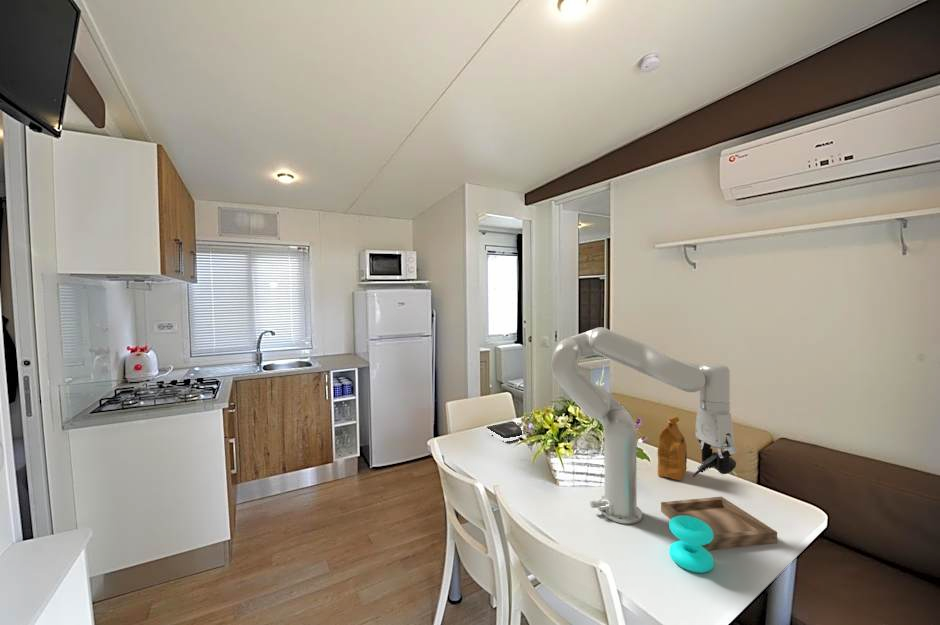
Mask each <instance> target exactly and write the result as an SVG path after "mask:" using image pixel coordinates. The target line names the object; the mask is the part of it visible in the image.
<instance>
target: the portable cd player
mask: <svg viewBox="0 0 940 625" xmlns="http://www.w3.org/2000/svg"><path fill="white" fill-rule="evenodd" d="M516 423H517V422H514V421H507V422H503V423H499V424H493V425H488V426H486V429H487V428H488V429H490V430H491V431H493V432H495V433H496V434H498V435H500V436H501V437H503V438H510V437H516V436H520V435H522V430H521V428H520V427H519V426H518V425H517V424H518V423H517V424H516Z"/></svg>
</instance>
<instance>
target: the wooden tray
mask: <svg viewBox="0 0 940 625" xmlns="http://www.w3.org/2000/svg"><path fill="white" fill-rule="evenodd" d="M660 512H661V513H663V515H664V516H666V517H667V518H668V519H669V521H670V520H671V519H672V518H673V517H675V516H680V515H684V516H691V517H694V518H697V519H700V520H702V521H703V522H705V523H706V524H708V525H709V526H710V528H711V529H712V531H713V534H714V537H713V540H712V541H711V542H710V543H709V544H706V545H701V546H702V547H704V548H705V549H706V550H707V551H708V552H709V551H715V550H716V551H717V550H724V549H725V550H726V549H731V548H732V549H733V548H742V547H750V546H752V547H753V546H757V545H758V546H759V545H760V546H761V545H768V544H777V543H778V531H777V530H775V529H773V528H772V527H771V526H768V525H767V524H766V523H763V522H762V521H760V520H759V519H757V518H756V517H755V516H754V515H751V514H750V513H748V512H746V510H743V509H742V508H740V507H739V506H737V505H735V504H734V503H732V502H731V501H729V500H727V499H726V498H725V497H723V496H712V497H704V498H703V497H702V498H701V497H700V498H693V499H683V500H682V499H681V500H672V501H661V502H660Z"/></svg>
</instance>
